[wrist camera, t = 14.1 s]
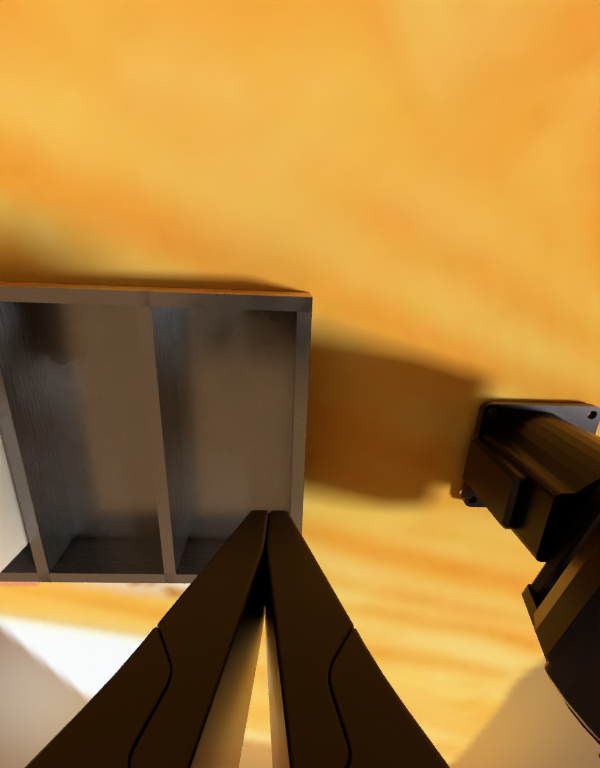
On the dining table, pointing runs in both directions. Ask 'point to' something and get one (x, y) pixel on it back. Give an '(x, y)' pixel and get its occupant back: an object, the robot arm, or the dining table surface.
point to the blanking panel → (9, 513)
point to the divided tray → (148, 423)
